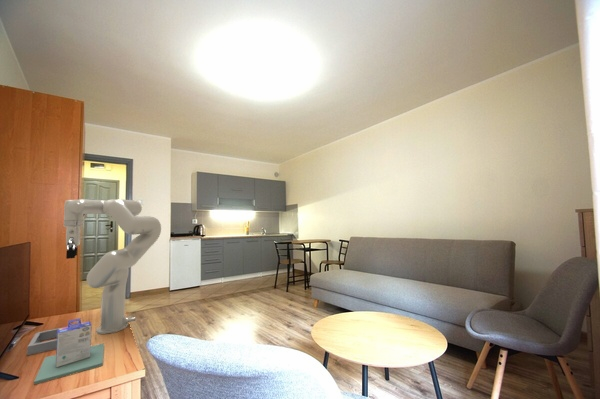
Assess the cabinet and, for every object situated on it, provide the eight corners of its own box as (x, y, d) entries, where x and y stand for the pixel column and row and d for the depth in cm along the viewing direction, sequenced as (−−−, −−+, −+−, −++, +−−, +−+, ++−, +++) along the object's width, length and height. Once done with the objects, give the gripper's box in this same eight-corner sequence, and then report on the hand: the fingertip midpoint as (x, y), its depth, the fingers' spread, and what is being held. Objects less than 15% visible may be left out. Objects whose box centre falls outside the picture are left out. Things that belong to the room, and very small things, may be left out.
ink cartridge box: (89, 351, 103) (90, 314, 103) (91, 357, 99) (92, 318, 99) (55, 362, 96) (57, 322, 96) (55, 368, 92) (57, 326, 92)
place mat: (103, 345, 109) (103, 343, 109) (102, 365, 95) (102, 362, 95) (45, 359, 99) (45, 357, 99) (33, 384, 84) (33, 381, 84)
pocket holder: (80, 331, 123) (80, 323, 123) (76, 344, 111) (77, 335, 111) (36, 340, 114) (36, 332, 114) (27, 355, 102) (27, 346, 102)
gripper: (81, 224, 128) (79, 258, 127) (84, 223, 141) (82, 254, 141) (60, 224, 123) (59, 260, 122) (66, 223, 137) (64, 255, 136)
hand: (71, 256), depth 131 cm, fingers open, 9 cm apart
